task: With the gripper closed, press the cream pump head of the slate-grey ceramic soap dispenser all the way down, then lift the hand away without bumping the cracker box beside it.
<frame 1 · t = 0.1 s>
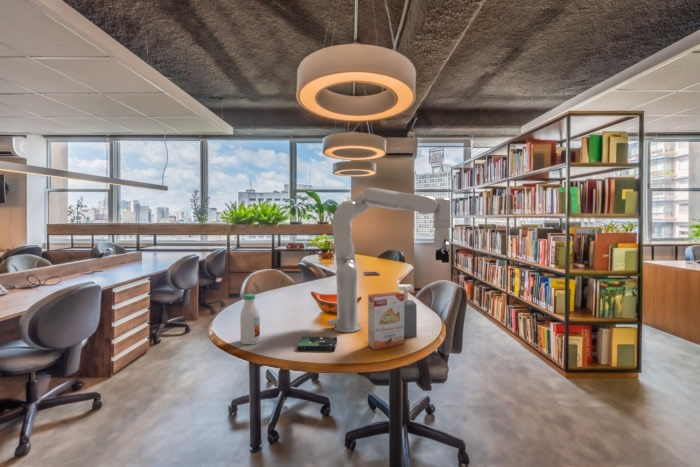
hand: (442, 261, 147), 31 cm above the table, tool pointing down, fingers open, 9 cm apart
milk bottle: (250, 342, 133), on the table
dispenser: (405, 333, 140), on the table
cracker box: (386, 345, 127), on the table
disk drive: (317, 348, 127), on the table
pump head: (406, 300, 138), point 15 cm above the table, slide at 0.0 cm
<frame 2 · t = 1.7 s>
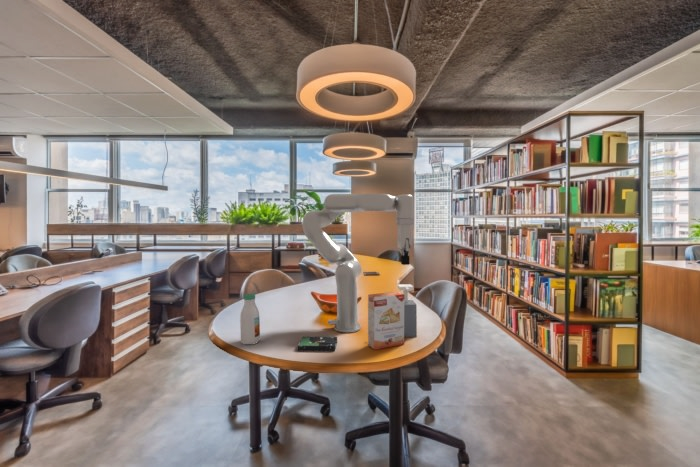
hand: (405, 264, 139), 31 cm above the table, tool pointing down, fingers closed
nothing on the table moved.
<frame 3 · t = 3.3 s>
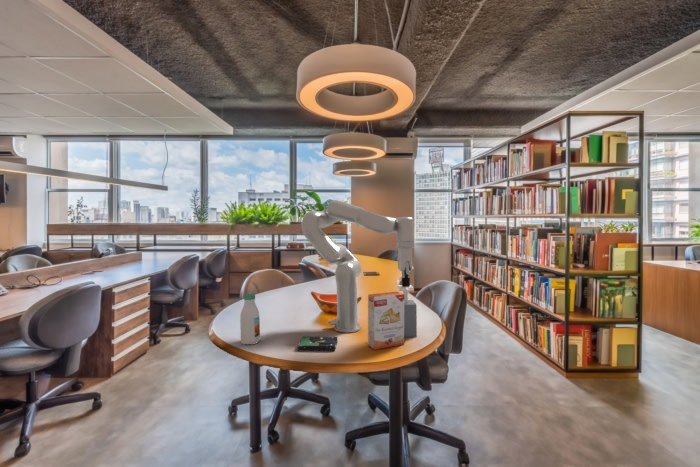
hand: (405, 286, 140), 21 cm above the table, tool pointing down, fingers closed
pump head: (406, 301, 138), point 15 cm above the table, slide at 0.3 cm, touching gripper
everything else where it was.
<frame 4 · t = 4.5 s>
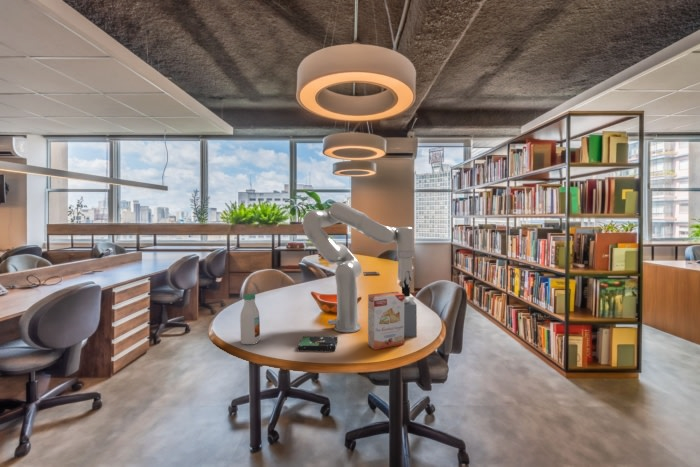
hand: (405, 295, 140), 17 cm above the table, tool pointing down, fingers closed
pump head: (406, 310, 138), point 11 cm above the table, slide at 4.5 cm, touching gripper
everything else where it was.
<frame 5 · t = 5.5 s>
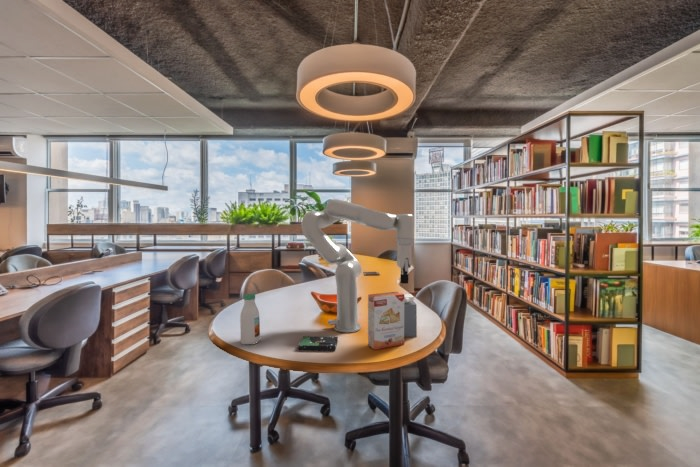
hand: (404, 283, 140), 23 cm above the table, tool pointing down, fingers closed
pump head: (406, 310, 138), point 11 cm above the table, slide at 4.5 cm
everything else where it was.
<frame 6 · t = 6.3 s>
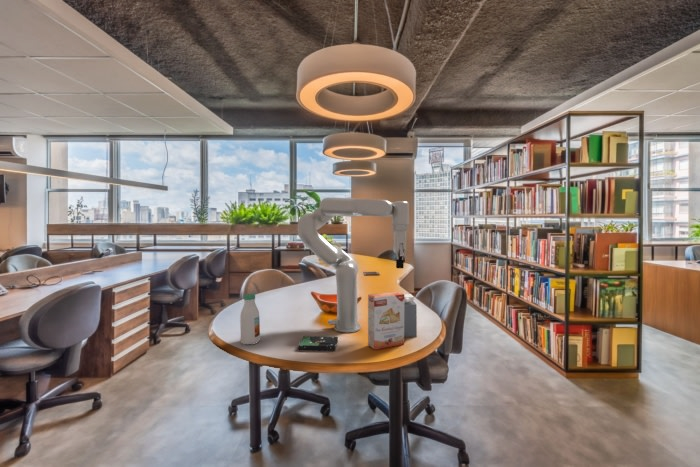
hand: (399, 268, 145), 29 cm above the table, tool pointing down, fingers closed
nothing on the table moved.
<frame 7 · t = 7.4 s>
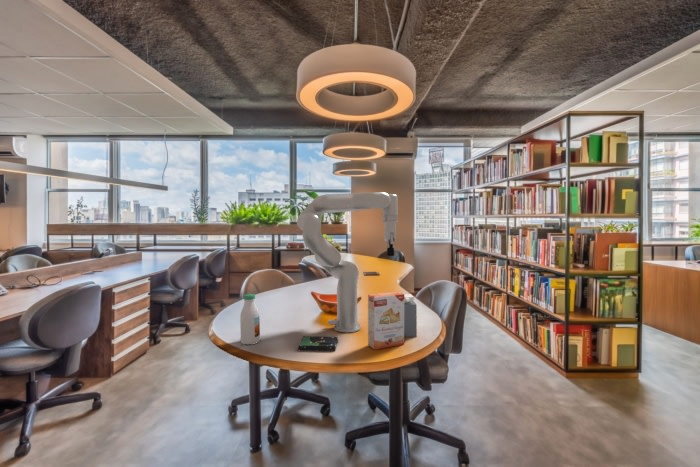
hand: (390, 255, 157), 33 cm above the table, tool pointing down, fingers closed
nothing on the table moved.
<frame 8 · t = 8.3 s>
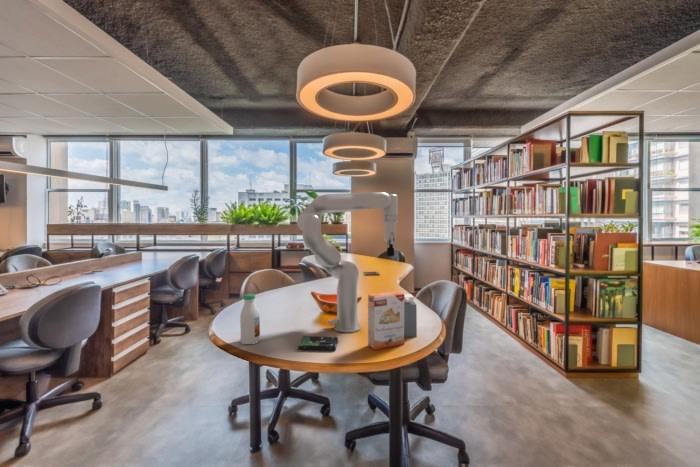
hand: (390, 255, 157), 33 cm above the table, tool pointing down, fingers closed
nothing on the table moved.
at the end: pump head slide at 4.5 cm; cracker box moved 0.2 cm from its start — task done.
